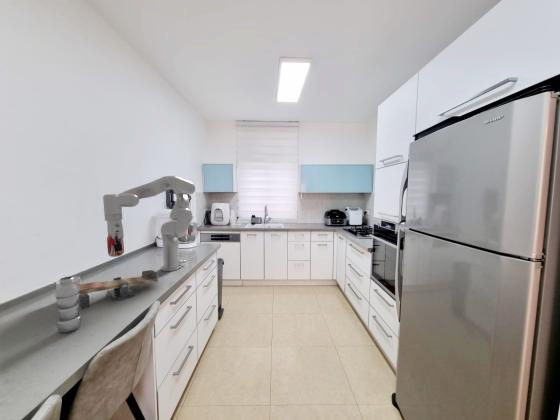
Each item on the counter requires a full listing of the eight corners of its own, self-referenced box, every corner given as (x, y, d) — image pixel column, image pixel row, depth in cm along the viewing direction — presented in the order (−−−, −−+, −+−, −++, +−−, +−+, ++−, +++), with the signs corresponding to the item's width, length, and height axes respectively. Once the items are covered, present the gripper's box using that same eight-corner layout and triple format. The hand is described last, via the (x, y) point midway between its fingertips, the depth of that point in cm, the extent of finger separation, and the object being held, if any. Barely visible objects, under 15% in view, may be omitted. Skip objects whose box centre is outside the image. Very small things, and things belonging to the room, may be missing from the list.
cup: (52, 306, 97) (50, 284, 97) (71, 293, 109) (70, 274, 108) (73, 304, 99) (72, 283, 98) (90, 292, 111) (89, 273, 110)
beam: (151, 277, 123) (152, 269, 123) (157, 281, 118) (158, 272, 118) (73, 289, 98) (75, 279, 98) (77, 294, 93) (78, 284, 93)
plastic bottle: (68, 324, 84) (64, 275, 82) (86, 324, 85) (83, 274, 83) (52, 335, 78) (48, 282, 76) (72, 334, 78) (68, 281, 77)
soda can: (115, 257, 114) (114, 235, 113) (104, 256, 115) (102, 234, 114) (127, 253, 121) (126, 232, 119) (117, 252, 122) (115, 232, 121)
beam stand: (126, 288, 116) (125, 274, 115) (135, 295, 108) (134, 281, 107) (76, 302, 101) (75, 287, 100) (83, 312, 93) (81, 295, 92)
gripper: (127, 217, 113) (129, 251, 115) (116, 215, 124) (119, 245, 126) (109, 219, 107) (112, 254, 109) (100, 216, 118) (102, 248, 120)
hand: (116, 249), depth 118 cm, fingers closed on soda can, 6 cm apart
